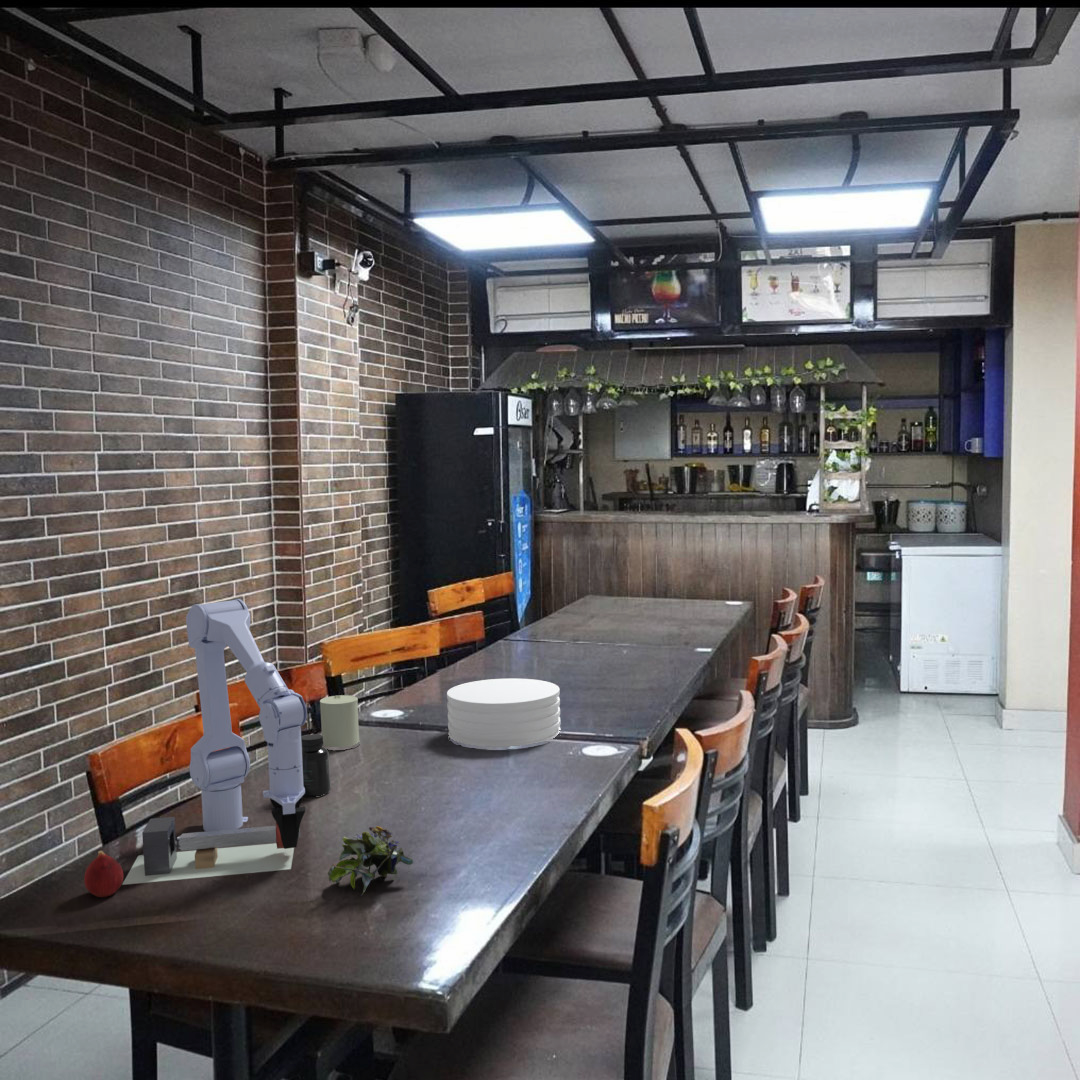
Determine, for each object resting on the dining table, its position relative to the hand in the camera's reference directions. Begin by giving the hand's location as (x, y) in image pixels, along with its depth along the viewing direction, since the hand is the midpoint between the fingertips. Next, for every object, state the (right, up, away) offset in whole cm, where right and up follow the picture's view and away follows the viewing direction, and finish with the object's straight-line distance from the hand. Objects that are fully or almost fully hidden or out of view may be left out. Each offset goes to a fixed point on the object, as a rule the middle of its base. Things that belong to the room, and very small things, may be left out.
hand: (289, 841), depth 183 cm
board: (-13, -4, -2) cm, 13 cm away
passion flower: (+16, -4, -12) cm, 20 cm away
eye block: (-21, -3, -3) cm, 22 cm away
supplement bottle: (-4, -1, +38) cm, 38 cm away
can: (-5, +2, +74) cm, 74 cm away
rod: (-9, -1, -1) cm, 9 cm away
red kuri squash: (-26, -6, -14) cm, 30 cm away
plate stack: (+35, +3, +80) cm, 87 cm away
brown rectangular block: (-14, -3, -2) cm, 14 cm away
